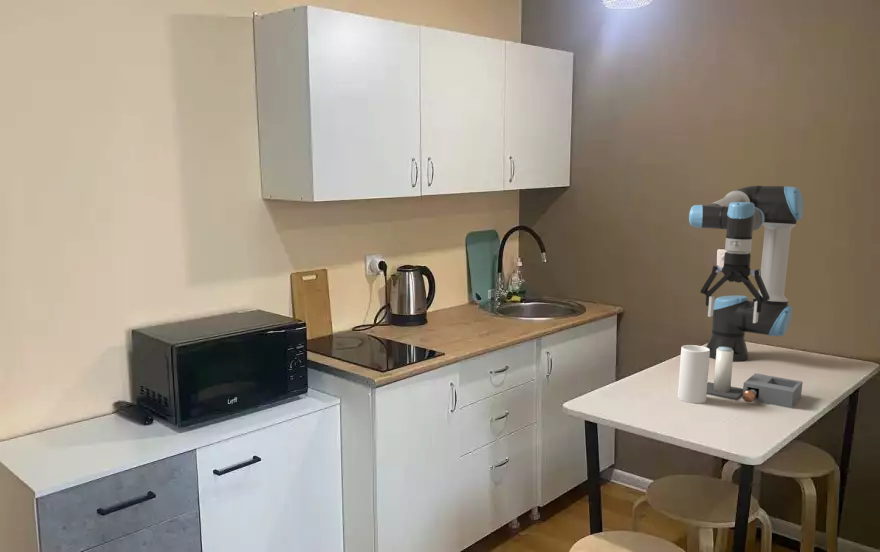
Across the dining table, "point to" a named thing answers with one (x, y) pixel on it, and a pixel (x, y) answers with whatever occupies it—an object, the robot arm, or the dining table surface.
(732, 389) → the mat
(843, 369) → the dining table surface
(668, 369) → the dining table surface
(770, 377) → the frame
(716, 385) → the cylinder
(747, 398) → the plunger
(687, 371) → the cup
